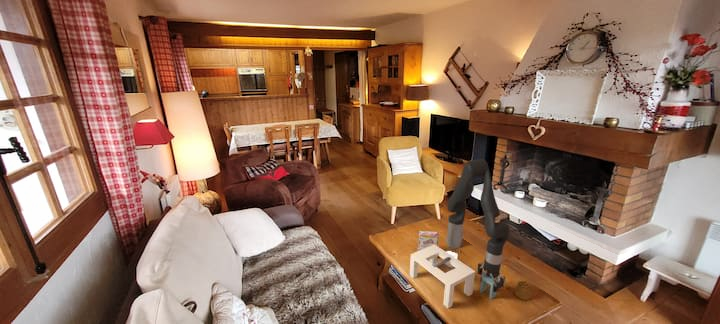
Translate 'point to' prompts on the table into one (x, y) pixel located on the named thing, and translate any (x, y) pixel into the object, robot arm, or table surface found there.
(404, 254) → the table surface
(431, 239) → the candy bar box
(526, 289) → the ornamental finial
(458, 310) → the table surface
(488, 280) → the teal u-channel bracket
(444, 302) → the cutout shelf
